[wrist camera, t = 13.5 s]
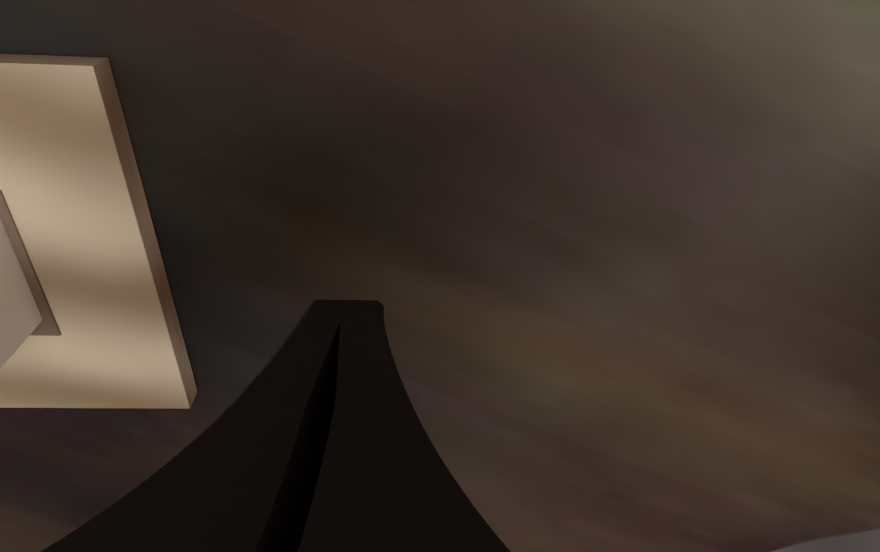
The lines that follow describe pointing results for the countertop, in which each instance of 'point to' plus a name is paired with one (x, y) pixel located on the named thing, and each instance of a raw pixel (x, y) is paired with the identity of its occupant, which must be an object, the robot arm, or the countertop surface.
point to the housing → (14, 302)
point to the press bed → (83, 246)
